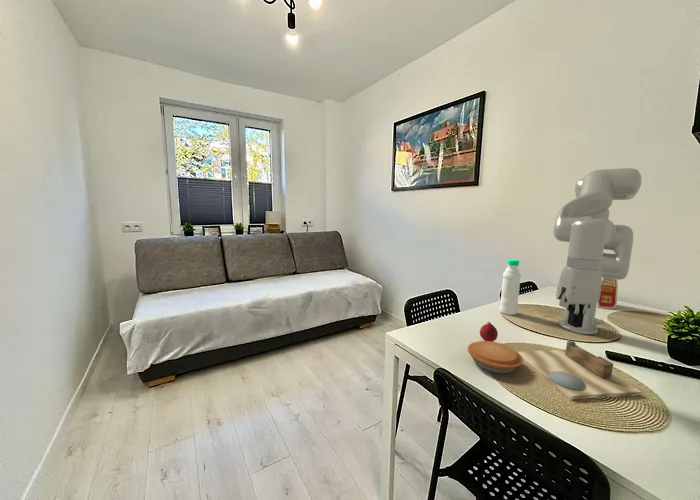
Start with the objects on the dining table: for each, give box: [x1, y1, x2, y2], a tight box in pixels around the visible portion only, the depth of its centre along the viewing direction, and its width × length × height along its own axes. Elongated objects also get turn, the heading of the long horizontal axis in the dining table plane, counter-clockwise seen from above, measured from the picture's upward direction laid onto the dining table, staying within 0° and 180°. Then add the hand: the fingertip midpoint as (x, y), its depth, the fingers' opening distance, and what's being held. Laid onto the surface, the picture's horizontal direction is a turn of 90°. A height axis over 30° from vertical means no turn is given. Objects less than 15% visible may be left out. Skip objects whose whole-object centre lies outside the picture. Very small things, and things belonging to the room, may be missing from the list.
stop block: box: [597, 356, 614, 376], centre depth 84 cm, size 2×4×4 cm, turn 5°
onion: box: [479, 321, 499, 342], centre depth 103 cm, size 6×6×8 cm
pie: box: [467, 340, 524, 375], centre depth 90 cm, size 16×16×5 cm
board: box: [517, 349, 642, 401], centre depth 85 cm, size 20×22×1 cm
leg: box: [565, 340, 613, 378], centre depth 87 cm, size 13×2×4 cm, turn 7°
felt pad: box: [549, 371, 585, 390], centre depth 80 cm, size 8×8×1 cm
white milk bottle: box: [499, 258, 522, 316], centre depth 131 cm, size 7×7×25 cm
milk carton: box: [596, 278, 619, 310], centre depth 142 cm, size 9×9×20 cm
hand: (574, 325), depth 83 cm, fingers closed
